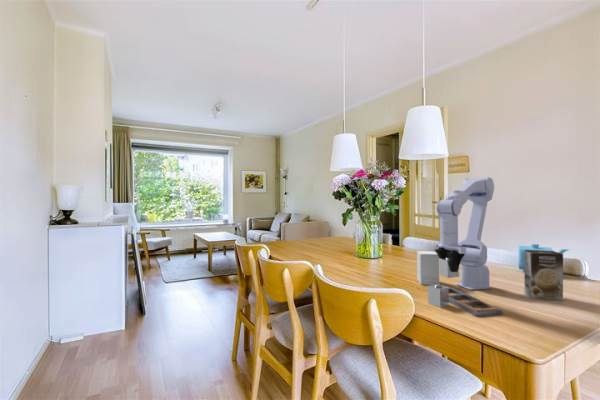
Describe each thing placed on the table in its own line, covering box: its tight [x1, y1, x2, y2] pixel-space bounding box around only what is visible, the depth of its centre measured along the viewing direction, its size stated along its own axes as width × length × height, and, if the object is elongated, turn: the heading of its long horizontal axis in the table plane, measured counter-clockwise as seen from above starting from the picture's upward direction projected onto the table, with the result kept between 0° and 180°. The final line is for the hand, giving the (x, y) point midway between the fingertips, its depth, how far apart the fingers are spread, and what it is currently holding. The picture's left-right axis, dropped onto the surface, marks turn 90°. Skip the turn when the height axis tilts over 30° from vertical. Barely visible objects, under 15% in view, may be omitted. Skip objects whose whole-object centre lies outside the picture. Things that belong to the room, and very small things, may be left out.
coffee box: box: [523, 250, 564, 302], centre depth 103 cm, size 9×6×16 cm
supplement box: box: [416, 250, 440, 286], centre depth 123 cm, size 7×7×13 cm
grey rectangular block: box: [439, 257, 460, 279], centre depth 106 cm, size 4×4×6 cm
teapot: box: [517, 243, 569, 274], centre depth 135 cm, size 18×16×13 cm
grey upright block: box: [427, 283, 450, 309], centre depth 99 cm, size 4×4×6 cm
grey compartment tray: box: [449, 286, 503, 317], centre depth 100 cm, size 9×23×2 cm, turn 9°
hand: (449, 270), depth 107 cm, fingers closed on grey rectangular block, 4 cm apart
